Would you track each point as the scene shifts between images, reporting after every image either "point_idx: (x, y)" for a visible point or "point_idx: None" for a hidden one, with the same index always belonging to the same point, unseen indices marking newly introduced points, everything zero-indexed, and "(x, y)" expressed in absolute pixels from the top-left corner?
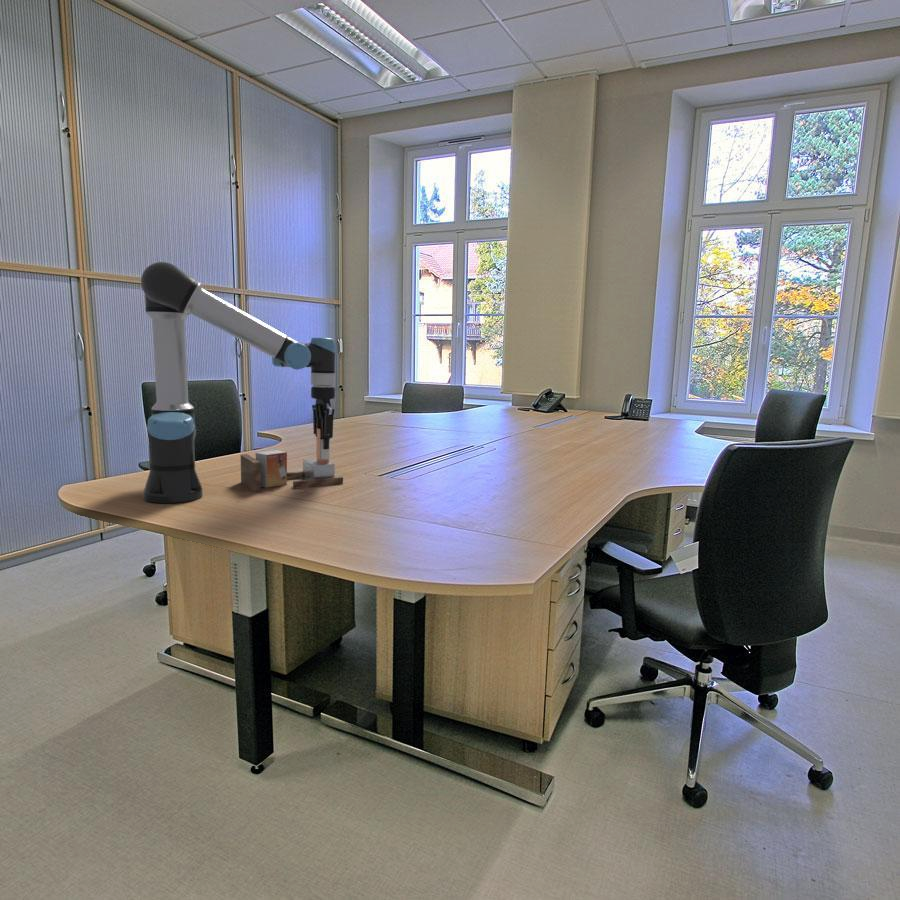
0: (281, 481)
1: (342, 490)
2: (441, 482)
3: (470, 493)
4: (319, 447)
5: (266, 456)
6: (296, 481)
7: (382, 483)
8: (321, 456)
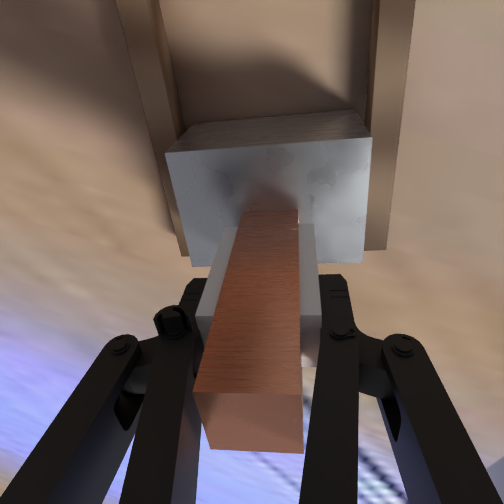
0: None
1: (72, 203)
2: None
3: (35, 437)
4: (243, 265)
5: None
6: (123, 6)
7: None
8: (223, 236)
